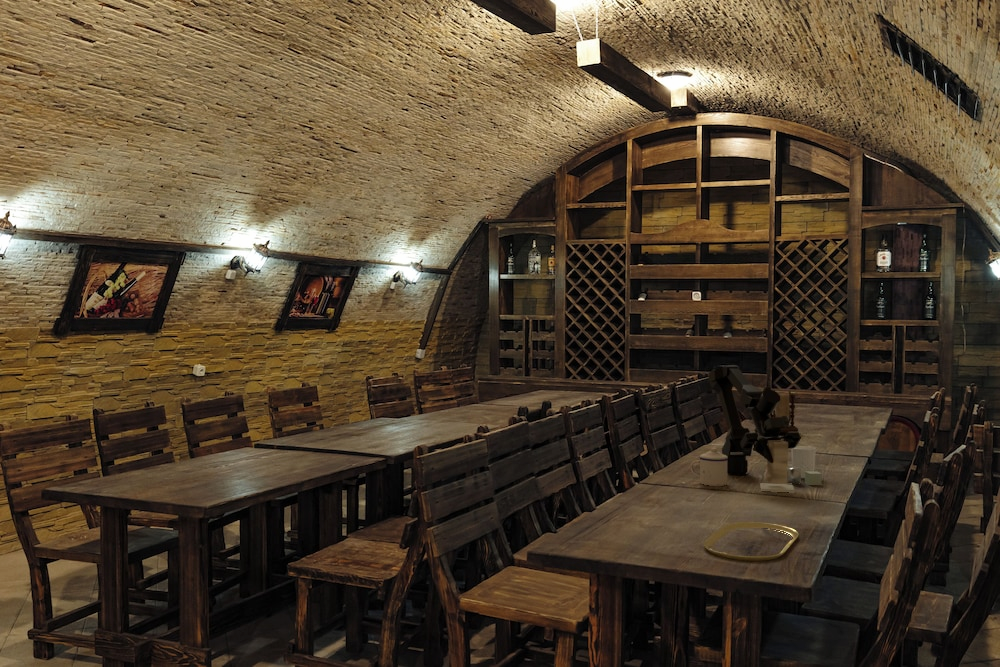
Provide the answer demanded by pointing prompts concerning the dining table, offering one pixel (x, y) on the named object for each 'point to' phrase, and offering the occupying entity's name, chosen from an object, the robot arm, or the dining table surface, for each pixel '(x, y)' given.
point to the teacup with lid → (712, 468)
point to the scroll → (786, 410)
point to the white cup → (803, 458)
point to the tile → (777, 487)
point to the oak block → (777, 462)
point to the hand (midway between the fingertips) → (779, 462)
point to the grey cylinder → (793, 475)
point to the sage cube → (813, 477)
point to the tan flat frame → (729, 527)
